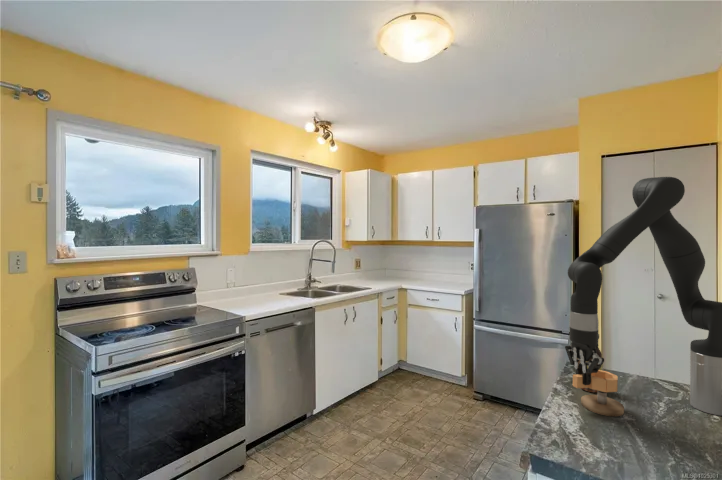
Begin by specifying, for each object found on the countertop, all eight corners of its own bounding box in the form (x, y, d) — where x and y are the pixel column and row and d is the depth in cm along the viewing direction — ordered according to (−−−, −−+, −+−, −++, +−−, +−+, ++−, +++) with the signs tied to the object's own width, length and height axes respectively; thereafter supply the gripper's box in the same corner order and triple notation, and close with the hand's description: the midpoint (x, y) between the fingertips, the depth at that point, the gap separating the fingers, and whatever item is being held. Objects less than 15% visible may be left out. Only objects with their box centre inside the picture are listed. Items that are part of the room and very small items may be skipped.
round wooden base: (603, 398, 115) (603, 373, 115) (633, 414, 105) (633, 387, 105) (572, 400, 114) (573, 375, 114) (600, 417, 103) (600, 390, 103)
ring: (600, 379, 114) (600, 368, 114) (625, 391, 105) (625, 379, 105) (564, 381, 112) (564, 370, 112) (586, 393, 103) (586, 381, 103)
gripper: (613, 332, 102) (613, 392, 102) (577, 321, 115) (577, 373, 115) (590, 333, 101) (590, 393, 101) (557, 321, 114) (556, 374, 114)
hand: (583, 382), depth 108 cm, fingers closed on ring
